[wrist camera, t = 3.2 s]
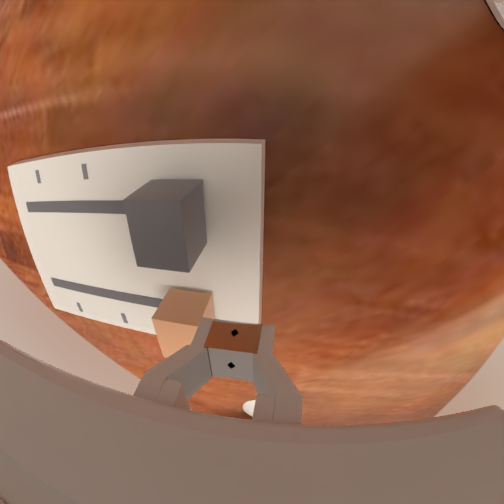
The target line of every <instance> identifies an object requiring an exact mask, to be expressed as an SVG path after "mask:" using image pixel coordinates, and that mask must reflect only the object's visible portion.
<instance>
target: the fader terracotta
mask: <svg viewBox="0 0 504 504" xmlns="http://www.w3.org/2000/svg"><path fill="white" fill-rule="evenodd" d="M203 317H206V318H212V319H215V317H214V308H213V299H212V294H208V293H200V292H192V291H185V290H178V289H171V288H169V290H168V292H167V293H166V295H165V296H164V298H163V300H162V301H161V303H160V305H159V306H158V308H157V310H156V311H155V313H154V315H153V316H152V318H151V319H152V322H153V325H154V329H155V332H156V335H157V338H158V341H159V344H160V347H161V350H162V353H163V356H164V357H166V358H168V357H169V356H171V355H172V354H174V353H175V352H177V351H178V350H180V349H181V348H183V347H184V346H186V345H190V344H191V342H192V340H193V337H194V335H195V332H196V330H197V327H198V325H199V322H200V320H201V319H202V318H203Z"/></svg>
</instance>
